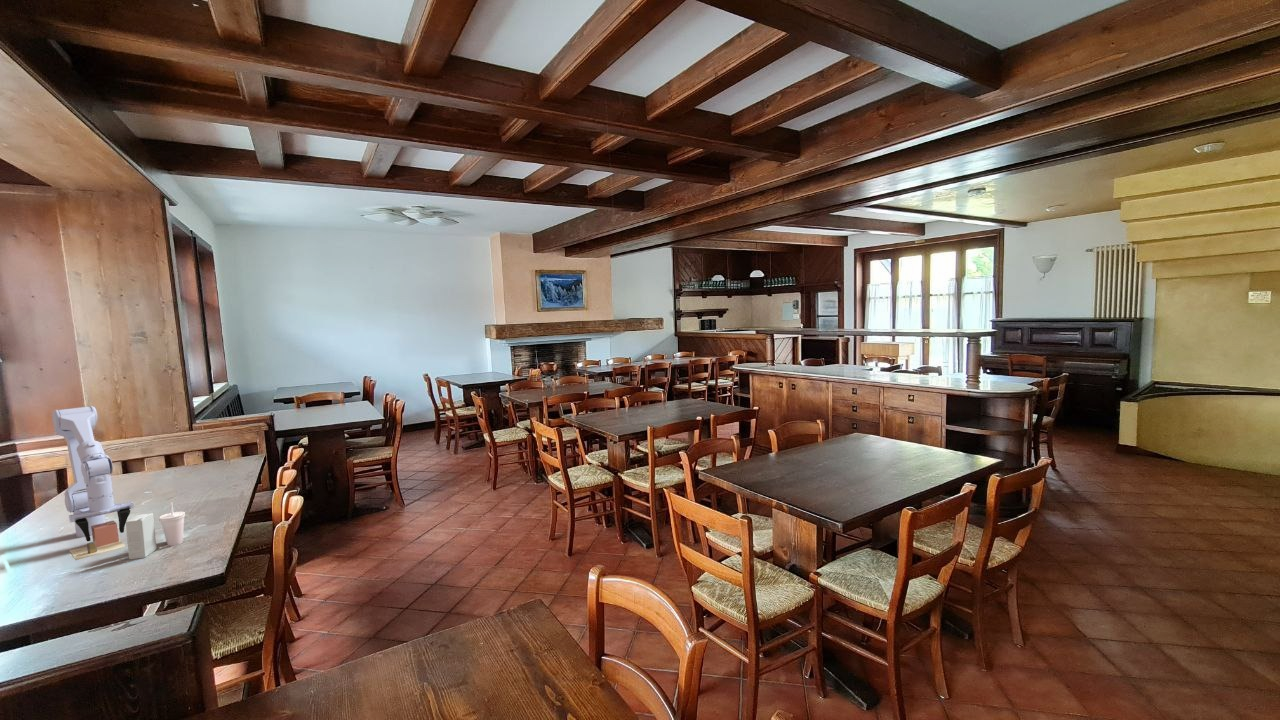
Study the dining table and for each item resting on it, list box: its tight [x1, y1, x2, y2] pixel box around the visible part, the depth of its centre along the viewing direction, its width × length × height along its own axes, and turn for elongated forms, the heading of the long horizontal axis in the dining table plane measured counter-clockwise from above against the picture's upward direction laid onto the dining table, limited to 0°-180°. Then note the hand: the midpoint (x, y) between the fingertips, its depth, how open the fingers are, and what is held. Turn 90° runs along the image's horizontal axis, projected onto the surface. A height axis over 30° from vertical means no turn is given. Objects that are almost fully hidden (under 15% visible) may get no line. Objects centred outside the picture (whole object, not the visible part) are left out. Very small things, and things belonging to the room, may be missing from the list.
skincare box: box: [125, 512, 158, 560], centre depth 161 cm, size 6×4×12 cm
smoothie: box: [158, 501, 186, 547], centre depth 169 cm, size 6×6×14 cm
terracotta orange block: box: [91, 520, 120, 547], centre depth 170 cm, size 5×5×6 cm
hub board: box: [68, 539, 127, 561], centre depth 166 cm, size 13×11×4 cm
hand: (105, 536), depth 170 cm, fingers open, 7 cm apart
